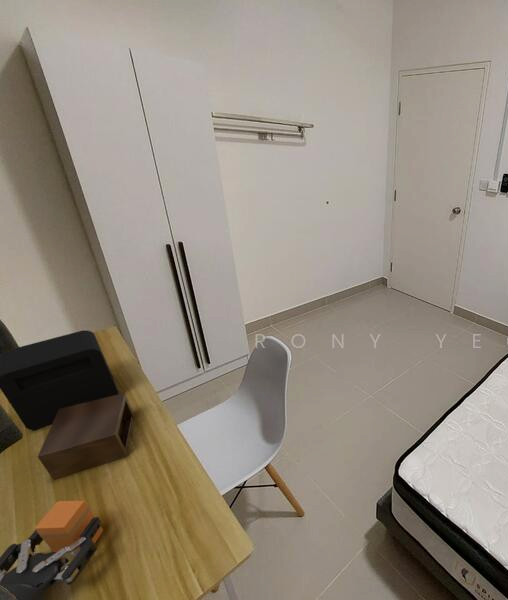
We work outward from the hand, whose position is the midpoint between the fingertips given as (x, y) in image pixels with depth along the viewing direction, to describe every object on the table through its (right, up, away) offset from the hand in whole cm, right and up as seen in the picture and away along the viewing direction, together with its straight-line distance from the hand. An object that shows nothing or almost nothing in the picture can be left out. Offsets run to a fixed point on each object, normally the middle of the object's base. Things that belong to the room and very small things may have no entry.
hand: (74, 520), depth 66 cm
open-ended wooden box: (-16, +5, +22) cm, 28 cm away
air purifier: (-34, +13, +35) cm, 51 cm away
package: (0, -6, +2) cm, 7 cm away
